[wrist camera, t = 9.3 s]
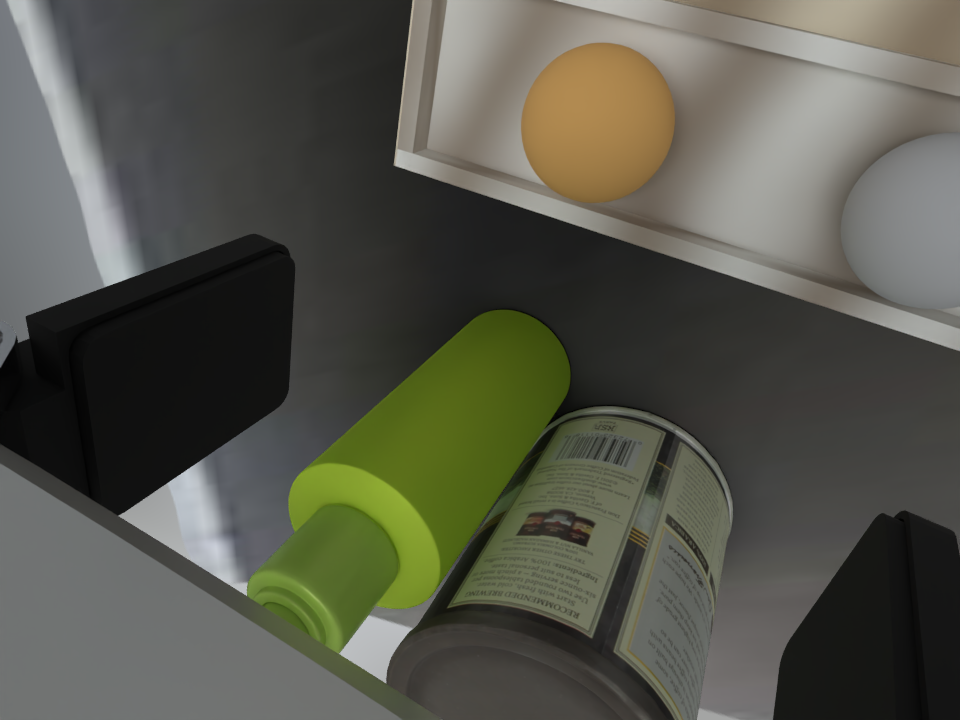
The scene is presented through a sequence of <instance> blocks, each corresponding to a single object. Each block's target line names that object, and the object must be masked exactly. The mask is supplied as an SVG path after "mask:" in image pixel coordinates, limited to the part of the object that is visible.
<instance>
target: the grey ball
mask: <svg viewBox="0 0 960 720" xmlns="http://www.w3.org/2000/svg"><path fill="white" fill-rule="evenodd" d="M840 231H841V242H842V247H843V251H844V254H845V256H846V259H847V262H848V263H849V265H850V267H851V269H852V270H853V272H854V273H855V274H856V276H857V277H858V278H859V279H860V280H861V281H862V282H863V283H864V284H865V285H866V286H867V287H868V288H869V289H871V290H872V291H874V292H875V293H876V294H878V295H880V296H882V297H883V298H885V299H887V300H890V301H892V302H895V303H898V304H901V305H905V306H909V307H914V308H921V309H948V308H954V307H960V132H951V133H940V134H934V135H929V136H925V137H922V138H918V139H915V140H912V141H910V142H907V143H905V144H903V145H901V146H899V147H897V148H895V149H893V150H891V151H890V152H888V153H887V154H885V155H884V156H882V157H881V158H880V159H878V160H877V161H876V162H875V163H874V164H872V165H871V166H870V167H869V168H868V169H867V170H866V171H865V172H864V174H863V175H862V176H861V177H860V178H859V180H858V181H857V182H856V184H855V185H854V187H853V189H852V190H851V192H850V194H849V196H848V198H847V201H846V203H845V206H844V210H843V214H842V219H841V229H840Z"/></svg>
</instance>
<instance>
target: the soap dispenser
mask: <svg viewBox="0 0 960 720" xmlns="http://www.w3.org/2000/svg"><path fill="white" fill-rule="evenodd" d="M570 378H571V373H570V365H569V361H568V357H567V355H566V352H565V350H564V348H563V346H562V344H561V343H560V341H559V340H558V338H557V337H556V336H555V335H554V334H553V332H552V331H551V330H550V329H549V328H547V327H546V326H545V325H544V324H543V323H541V322H540V321H538V320H537V319H535V318H533V317H531V316H529V315H527V314H524V313H521V312H518V311H513V310H493V311H489V312H486V313H483V314H481V315H479V316H477V317H476V318H474V319H473V320H472V321H471V322H469V323H468V324H467V325H466V326H465V327H464V328H463V329H462V330H460V331H459V332H458V333H457V334H456V335H455V336H454V337H453V338H451V339H450V340H449V341H448V342H447V343H446V344H445V345H444V346H443V347H441V348H440V349H439V350H438V351H437V352H436V353H435V354H434V355H432V356H431V357H430V358H429V359H428V360H427V361H426V362H425V363H423V364H422V365H421V366H420V367H419V368H418V369H417V370H416V371H414V372H413V373H412V374H411V375H410V376H409V377H408V378H407V379H406V380H404V381H403V382H402V383H401V384H400V385H399V386H398V387H397V388H395V389H394V390H393V391H392V392H391V393H390V394H389V395H388V396H386V397H385V398H384V399H383V400H382V401H381V402H380V403H379V404H377V405H376V406H375V407H374V408H373V409H372V410H371V411H370V412H368V413H367V414H366V415H365V416H364V417H363V418H362V419H361V420H360V421H358V422H357V423H356V424H355V425H354V426H353V427H352V428H351V429H349V430H348V431H347V432H346V433H345V434H344V435H343V436H342V437H340V438H339V439H338V440H337V441H336V442H335V443H334V444H333V445H331V446H330V447H329V448H328V449H327V450H326V451H325V452H324V453H323V454H321V455H320V456H319V457H318V458H317V459H316V460H315V461H314V462H312V463H311V464H310V465H309V466H308V467H307V468H306V469H305V470H303V471H302V472H301V473H300V474H299V475H298V477H297V478H296V479H295V481H294V483H293V485H292V487H291V490H290V494H289V514H290V519H291V523H292V526H293V529H294V531H295V533H294V534H293V535H292V536H291V537H290V538H289V539H288V540H287V541H286V542H285V543H284V544H283V545H282V546H281V547H280V548H279V549H278V550H277V551H276V552H275V553H274V554H273V555H272V556H271V557H270V558H269V559H268V560H267V561H266V562H265V563H264V564H263V565H262V566H261V567H260V568H259V569H258V570H257V571H256V572H255V573H254V574H253V575H252V577H251V578H250V580H249V582H248V586H247V597H249V598H251V599H252V600H254V601H255V602H257V603H259V604H260V605H262V606H263V607H265V608H266V609H268V610H270V611H271V612H273V613H274V614H276V615H278V616H279V617H281V618H282V619H284V620H286V621H287V622H289V623H290V624H292V625H294V626H295V627H297V628H298V629H300V630H302V631H303V632H305V633H306V634H308V635H309V636H311V637H313V638H314V639H316V640H317V641H319V642H321V643H322V644H324V645H325V646H327V647H329V648H330V649H332V650H333V651H335V652H337V653H338V654H339V653H340V652H341V651H342V649H343V648H344V647H345V645H346V644H347V643H348V642H349V640H350V639H351V638H352V636H353V635H354V634H355V632H356V631H357V630H358V628H359V627H360V626H361V624H362V623H363V622H364V620H365V619H366V618H367V616H368V615H369V614H370V612H371V611H372V610H373V609H374V607H375V606H380V607H384V608H391V609H405V608H411V607H414V606H417V605H420V604H422V603H423V602H425V601H426V600H428V599H429V598H430V597H431V596H432V595H433V593H434V592H435V591H436V589H437V588H438V586H439V585H440V583H441V582H442V580H443V579H444V577H445V576H446V574H447V573H448V571H449V570H450V568H451V567H452V565H453V564H454V562H455V561H456V559H457V558H458V556H459V555H460V553H461V552H462V550H463V549H464V547H465V546H466V545H467V543H468V542H469V540H470V539H471V537H472V536H473V534H474V533H475V531H476V530H477V528H478V527H479V525H480V524H481V522H482V521H483V519H484V518H485V516H486V515H487V513H488V512H489V510H490V509H491V507H492V506H493V504H494V503H495V501H496V500H497V498H498V497H499V496H500V494H501V493H502V491H503V490H504V488H505V487H506V485H507V484H508V482H509V481H510V479H511V478H512V476H513V475H514V473H515V472H516V470H517V469H518V467H519V466H520V464H521V463H522V461H523V460H524V458H525V457H526V455H527V454H528V452H529V451H530V449H531V448H532V447H533V445H534V444H535V442H536V441H537V439H538V438H539V436H540V435H541V433H542V432H543V430H544V429H545V427H546V426H547V424H548V423H549V421H550V420H551V418H552V417H553V415H554V414H555V412H556V411H557V409H558V408H559V406H560V405H561V403H562V402H563V400H564V399H565V397H566V395H567V393H568V390H569V386H570Z"/></svg>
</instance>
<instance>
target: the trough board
mask: <svg viewBox="0 0 960 720" xmlns="http://www.w3.org/2000/svg"><path fill="white" fill-rule="evenodd" d="M591 43H613V44H618V45H623V46H626V47H629V48H631V49H633V50H635V51H637V52H639V53H640V54H642V55H643V56H645V57H646V58H647V59H649V60H650V61H651V62H652V63H653V64H654V65H655V66H656V68H657V69H658V70H659V71H660V73H661V74H662V75H663V77H664V79H665V81H666V82H667V84H668V87H669V89H670V92H671V95H672V99H673V103H674V110H675V127H674V135H673V139H672V143H671V146H670V149H669V151H668V154H667V156H666V158H665V159H664V161H663V163H662V165H661V166H660V167H659V169H658V170H657V171H656V173H655V174H654V175H653V176H652V177H651V178H650V179H649V181H648V182H646V183H645V184H644V185H643V186H642V187H640V188H639V189H637V190H636V191H634V192H632V193H631V194H629V195H627V196H625V197H622V198H620V199H617V200H613V201H609V202H603V203H584V202H579V201H575V200H571V199H569V198H566V197H564V196H562V195H560V194H558V193H556V192H554V191H553V190H552V189H550V188H549V187H548V186H547V185H546V184H544V183H543V182H542V181H541V180H540V178H539V177H538V176H537V175H536V173H535V172H534V170H533V169H532V167H531V165H530V163H529V161H528V159H527V157H526V154H525V151H524V147H523V142H522V136H521V119H522V112H523V108H524V104H525V100H526V98H527V95H528V93H529V90H530V88H531V87H532V85H533V83H534V81H535V80H536V78H537V77H538V76H539V74H540V73H541V72H542V71H543V70H544V69H545V68H546V66H547V65H548V64H549V63H551V62H552V61H553V60H554V59H556V58H557V57H558V56H560V55H561V54H563V53H565V52H567V51H569V50H571V49H573V48H576V47H579V46H582V45H586V44H591ZM951 132H960V0H413V3H412V12H411V21H410V29H409V38H408V47H407V56H406V64H405V73H404V82H403V90H402V99H401V108H400V117H399V125H398V134H397V143H396V151H395V160H394V166H397V167H400V168H403V169H406V170H410V171H413V172H416V173H419V174H422V175H425V176H428V177H431V178H434V179H437V180H440V181H443V182H446V183H449V184H452V185H455V186H458V187H461V188H464V189H467V190H470V191H473V192H477V193H480V194H483V195H486V196H489V197H492V198H495V199H498V200H501V201H504V202H507V203H510V204H513V205H516V206H519V207H522V208H525V209H528V210H531V211H534V212H537V213H540V214H543V215H547V216H550V217H553V218H556V219H559V220H562V221H565V222H568V223H571V224H574V225H577V226H580V227H583V228H586V229H589V230H592V231H595V232H598V233H601V234H604V235H607V236H610V237H614V238H617V239H620V240H623V241H626V242H629V243H632V244H635V245H638V246H641V247H644V248H647V249H650V250H653V251H656V252H659V253H662V254H665V255H668V256H671V257H674V258H677V259H681V260H684V261H687V262H690V263H693V264H696V265H699V266H702V267H705V268H708V269H711V270H714V271H717V272H720V273H723V274H726V275H729V276H732V277H735V278H738V279H741V280H744V281H748V282H751V283H754V284H757V285H760V286H763V287H766V288H769V289H772V290H775V291H778V292H781V293H784V294H787V295H790V296H793V297H796V298H799V299H802V300H805V301H808V302H811V303H815V304H818V305H821V306H824V307H827V308H830V309H833V310H836V311H839V312H842V313H845V314H848V315H851V316H854V317H857V318H860V319H863V320H866V321H869V322H872V323H875V324H878V325H882V326H885V327H888V328H891V329H894V330H897V331H900V332H903V333H906V334H909V335H912V336H915V337H918V338H921V339H924V340H927V341H930V342H933V343H936V344H939V345H942V346H945V347H949V348H952V349H955V350H958V351H960V307H954V308H948V309H921V308H914V307H909V306H905V305H901V304H898V303H895V302H892V301H890V300H887V299H885V298H883V297H882V296H880V295H878V294H876V293H875V292H874V291H872V290H871V289H869V288H868V287H867V286H866V285H865V284H864V283H863V282H862V281H861V280H860V279H859V278H858V277H857V276H856V274H855V273H854V272H853V270H852V269H851V267H850V265H849V263H848V262H847V259H846V256H845V254H844V251H843V247H842V242H841V231H840V229H841V219H842V214H843V210H844V206H845V203H846V201H847V198H848V196H849V194H850V192H851V190H852V189H853V187H854V185H855V184H856V182H857V181H858V180H859V178H860V177H861V176H862V175H863V174H864V172H865V171H866V170H867V169H868V168H869V167H870V166H871V165H872V164H874V163H875V162H876V161H877V160H878V159H880V158H881V157H882V156H884V155H885V154H887V153H888V152H890V151H891V150H893V149H895V148H897V147H899V146H901V145H903V144H905V143H907V142H910V141H912V140H915V139H918V138H922V137H925V136H929V135H934V134H940V133H951Z"/></svg>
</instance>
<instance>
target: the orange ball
mask: <svg viewBox="0 0 960 720" xmlns="http://www.w3.org/2000/svg"><path fill="white" fill-rule="evenodd" d="M674 127H675V110H674V103H673V99H672V95H671V92H670V89H669V87H668V84H667V82H666V81H665V79H664V77H663V75H662V74H661V73H660V71H659V70H658V69H657V68H656V66H655V65H654V64H653V63H652V62H651V61H650V60H649V59H647V58H646V57H645V56H643V55H642V54H640V53H639V52H637V51H635V50H633V49H631V48H629V47H626V46H623V45H618V44H613V43H591V44H586V45H582V46H579V47H576V48H573V49H571V50H569V51H567V52H565V53H563V54H561V55H560V56H558V57H557V58H556V59H554V60H553V61H552V62H551V63H549V64H548V65H547V66H546V68H545V69H544V70H543V71H542V72H541V73H540V74H539V76H538V77H537V78H536V80H535V81H534V83H533V85H532V87H531V88H530V90H529V93H528V95H527V98H526V100H525V104H524V108H523V112H522V119H521V136H522V142H523V147H524V151H525V154H526V157H527V159H528V161H529V163H530V165H531V167H532V169H533V170H534V172H535V173H536V175H537V176H538V177H539V178H540V180H541V181H542V182H543V183H544V184H546V185H547V186H548V187H549V188H550V189H552V190H553V191H554V192H556V193H558V194H560V195H562V196H564V197H566V198H569V199H571V200H575V201H579V202H584V203H603V202H609V201H613V200H617V199H620V198H622V197H625V196H627V195H629V194H631V193H632V192H634V191H636V190H637V189H639V188H640V187H642V186H643V185H644V184H645V183H646V182H648V181H649V179H650V178H651V177H652V176H653V175H654V174H655V173H656V171H657V170H658V169H659V167H660V166H661V165H662V163H663V161H664V159H665V158H666V156H667V154H668V151H669V149H670V146H671V143H672V139H673V135H674Z"/></svg>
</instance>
